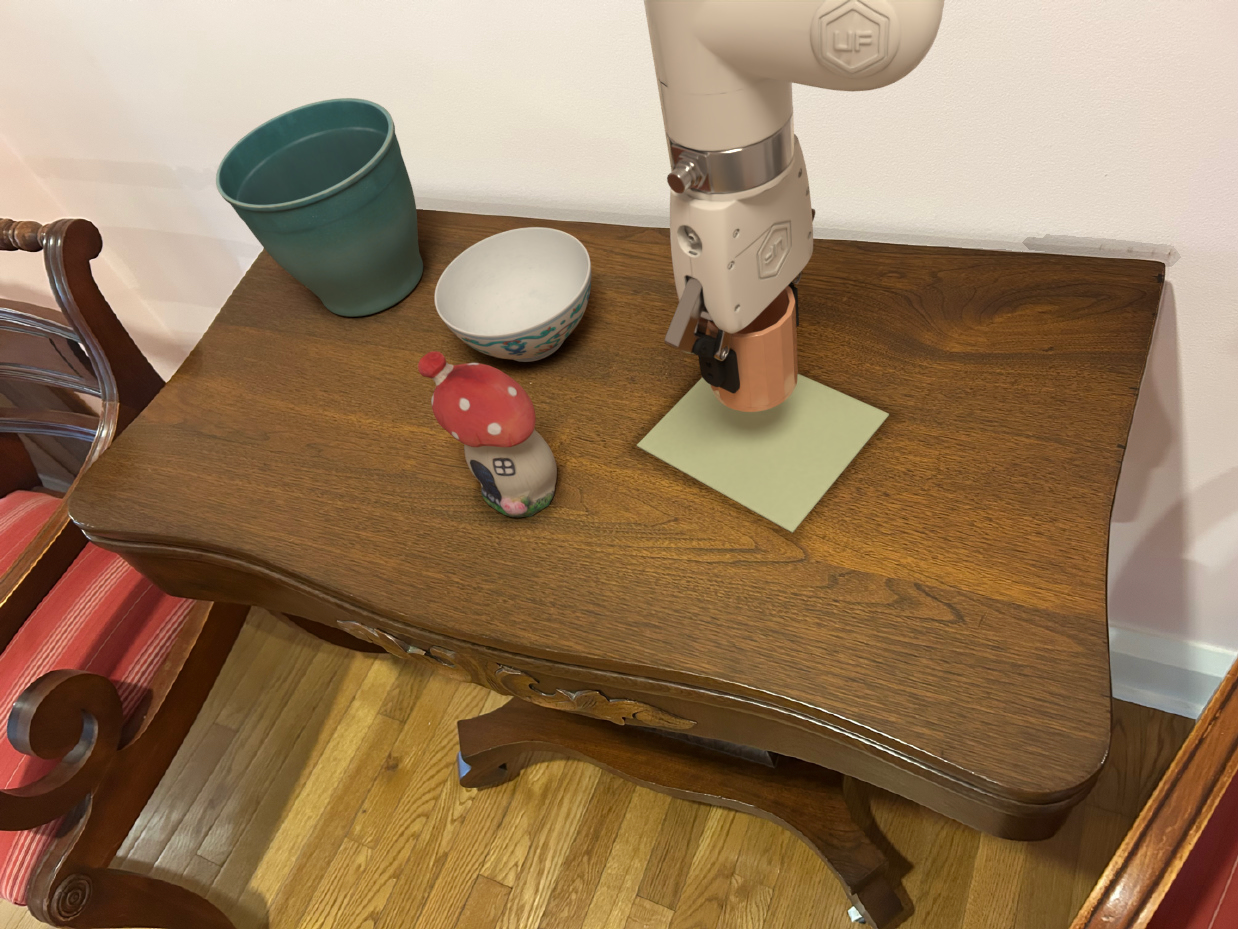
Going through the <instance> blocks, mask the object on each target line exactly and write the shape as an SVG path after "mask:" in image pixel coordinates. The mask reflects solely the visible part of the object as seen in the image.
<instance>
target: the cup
mask: <svg viewBox="0 0 1238 929" xmlns="http://www.w3.org/2000/svg"><path fill="white" fill-rule="evenodd" d="M717 333H718V327H717V326H716V325H715V323H713V322H710V321H708V324H707V329H706V335H709V336H712V337H714V338H717ZM797 334H798V332H797V328H796V307H795V298H794V295H793V292H792V289H791V288H790V287H789V286H787V287H786V288H785V289H784V290H783V291H782V292H781V293H780V294H779V295H778V296H777V297H776V298H775V299H774V300H773V301H772V302H771V303H770V304H769V305H768V306H767V307H766V308H765V309H764V310H763V311H762V312H761V313H760V314H759V315H758V316H757V317H756V318H755V319H754V320H753V321H752V322H751V323H750V324H749V325H748V326H746V327H745V328H743V329H742V330H740V331H738V332H736V333H733V336H732V341H731V346H730V349H732V350H734V351H735V352H736V354H737V363H738V371H739V380H740V389H739V390H738V391H737V392H736V393H734V394H733V393H731V392H729V391H727V390H725V389H722V388H720V387H714V386H712V385H711V389H712V392H713V394H714V395H715V397H716V398H717V399H718V400H719V401H720V402H721V403H722V404H724V405H725V406H727V407H729V408H731V409H734V410H738V411H743V412H758V411H763V410H767V409H770V408H773V407H775V406H777V405H779V404H781V403H782V402H784V401H785V400H786V399H787V398H788V397H789V396H790V395H791V394H792V393H793V391H794V389H795V387H796V384H797V378H798V374H799V360H798V359H799V358H798V335H797Z"/></svg>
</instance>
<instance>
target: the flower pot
mask: <svg viewBox="0 0 1238 929" xmlns="http://www.w3.org/2000/svg"><path fill="white" fill-rule="evenodd" d="M215 184H216V185H215V186H216V188H217V191H218V193H219V195H220V196H221V197H222V199H223V200H225V201H226V202H227V203H228V204H229V205H230V206H231V207H232V209H233V210H234V211H235V212H236V214H237V215H238V217H239V218H240V219H241V220H242V221H243V222H244V224H245V225H246V226H247V227H248V229H249V231H250V232H251V233H252V234H253V236H254V237H255V238H256V240H257V241H258V242H259V244H260V245H261V246H262V247H263V249H264V250H265V251H266V252H267V253H268V255H269V256H270V257H271V258H272V259H273V260H274V261H275V263H277V264H278V265H279V266H280V267H281V268H282V269H283V270H284V271H285V272H286V273H288V274H289V275H290V276H292V277H293V278H294V279H295V280H297V281H298V282H299V283H301V285H303V286H305V287H306V288H307V289H308V290H309V291H311V292H312V293H313V294H314V295H315V296H316V297H318V298H319V300H320V301H321V303H322V304H323V306H324V307H325V308H326V309H327V310H328V311H329V312H331V313H333V314H335V315H339V316H341V317H349V318H350V317H351V318H352V317H354V318H355V317H363V316H364V317H365V316H370V315H373V314H376V313H380V312H382V311H385V310H386V309H390V308H391V307H393V306H395V305H396V304H398V303H399V302H401V301H402V300H403V299H405V298H406V297H407V296H408V295H410V294H411V292H412V291H413V290H414V289H415V288H416V286H417V285H418V283H419V282H420V280H421V278H422V276H423V272H424V262H423V259H422V256H421V253H420V247H419V234H418V213H417V205H416V199H415V198H416V197H415V194H414V190H413V185H412V182H411V179H410V175H409V172H408V170H407V167H406V162H405V160H404V158H403V155H402V150H401V145H400V143H399V140H398V136H397V134H396V125H395V122H394V118H393V117H392V115H391V113H390V112H389V110H388V109H387V108H386V107H384V106H382V105H381V104H379V103H377V102H374V101H371V100H368V99H364V98H355V97H354V98H353V97H343V98H341V97H340V98H332V99H325V100H321V101H315V102H310V103H306V104H304V105H301V106H297V107H296V108H292V109H290V110H288V111H285V112H283V113H281V114H279V115H276V116H274V117H272V118H270V119H269V120H266V121H264V122H263V123H261V124H260V125H258V126H257V127H255V128H254V129H252V130H250V131H249V132H248V133H247V134H245V135H244V136H243V137H241V138H240V139H239V140H238V141H236V142H235V144H233V145H232V147H231V148H230V149H229V150H228V151H227V153H226V154H225V155H224V156H223V158H222V160H221V162H220V163H219V165H218V167H217V171H216V174H215Z"/></svg>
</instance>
